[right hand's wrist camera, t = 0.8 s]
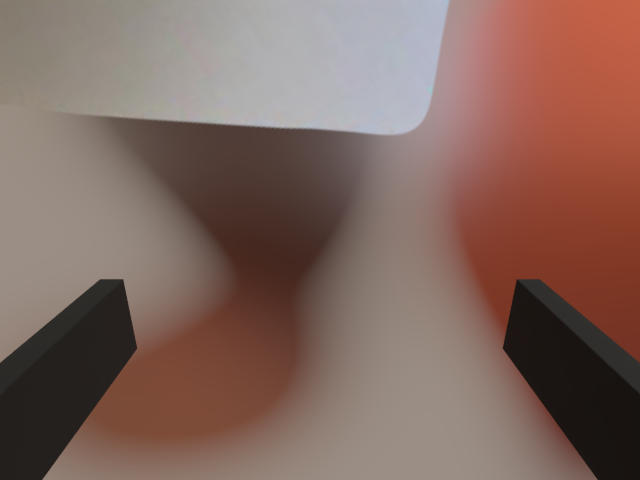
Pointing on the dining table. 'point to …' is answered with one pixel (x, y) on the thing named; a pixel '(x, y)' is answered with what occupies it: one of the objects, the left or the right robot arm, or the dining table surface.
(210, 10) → the dining table surface
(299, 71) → the dining table surface
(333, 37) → the dining table surface
